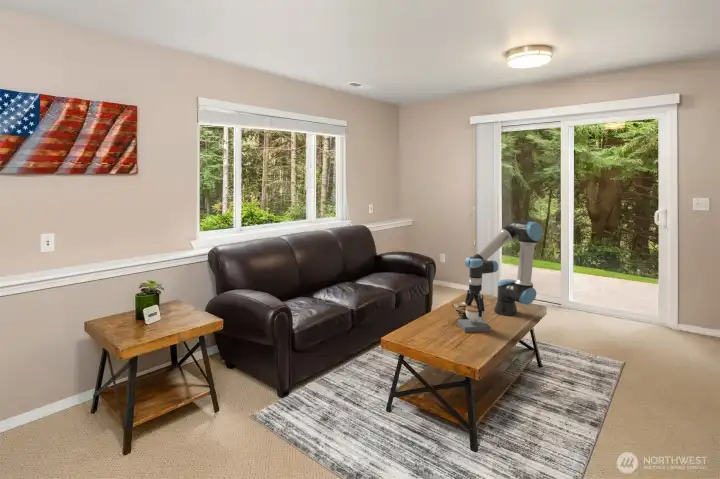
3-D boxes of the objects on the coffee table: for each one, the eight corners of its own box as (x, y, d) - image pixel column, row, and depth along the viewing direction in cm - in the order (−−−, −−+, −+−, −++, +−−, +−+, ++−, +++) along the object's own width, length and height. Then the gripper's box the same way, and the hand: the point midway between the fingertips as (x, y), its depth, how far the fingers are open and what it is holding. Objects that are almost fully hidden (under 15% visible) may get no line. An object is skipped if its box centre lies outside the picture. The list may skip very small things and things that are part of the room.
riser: (481, 323, 267) (481, 318, 266) (490, 331, 253) (490, 326, 252) (457, 324, 265) (457, 319, 265) (464, 332, 251) (464, 327, 251)
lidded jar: (483, 323, 252) (484, 308, 251) (465, 322, 254) (466, 307, 253) (482, 317, 262) (482, 303, 261) (464, 316, 265) (465, 302, 263)
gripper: (460, 280, 265) (458, 313, 268) (480, 289, 243) (479, 325, 246) (470, 279, 267) (469, 312, 270) (491, 288, 245) (490, 324, 248)
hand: (473, 318), depth 258 cm, fingers closed on lidded jar, 11 cm apart
